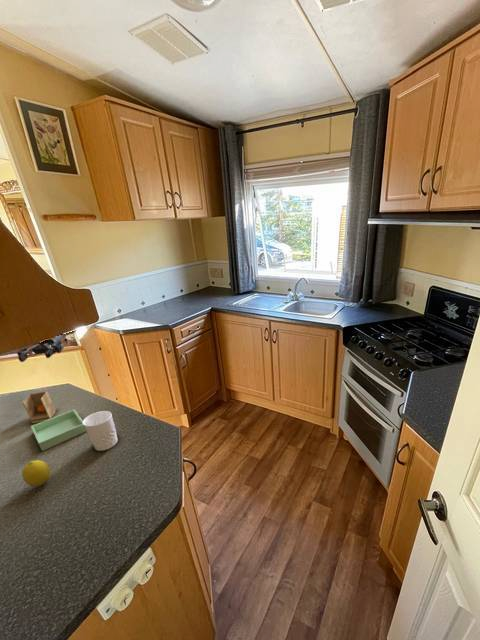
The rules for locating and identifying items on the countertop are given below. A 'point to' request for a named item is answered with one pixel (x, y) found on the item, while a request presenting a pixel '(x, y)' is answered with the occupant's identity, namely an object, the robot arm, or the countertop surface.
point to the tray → (58, 429)
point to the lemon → (36, 473)
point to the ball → (41, 409)
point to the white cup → (101, 430)
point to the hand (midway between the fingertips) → (33, 357)
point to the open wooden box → (37, 400)
